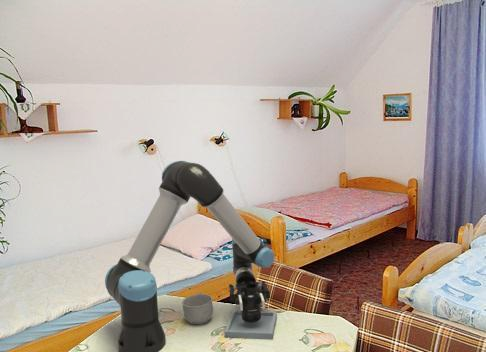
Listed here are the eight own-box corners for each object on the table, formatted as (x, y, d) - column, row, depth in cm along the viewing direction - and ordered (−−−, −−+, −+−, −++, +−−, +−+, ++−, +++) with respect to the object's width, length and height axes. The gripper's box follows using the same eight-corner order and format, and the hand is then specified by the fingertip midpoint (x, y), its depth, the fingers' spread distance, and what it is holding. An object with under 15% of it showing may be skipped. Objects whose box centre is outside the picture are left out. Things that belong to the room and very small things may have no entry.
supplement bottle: (252, 325, 147) (250, 291, 146) (237, 319, 152) (235, 286, 150) (265, 317, 152) (263, 284, 150) (250, 312, 157) (249, 280, 155)
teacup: (208, 328, 153) (207, 306, 152) (179, 326, 155) (177, 305, 154) (218, 310, 166) (217, 290, 165) (191, 309, 168) (190, 289, 167)
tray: (224, 337, 146) (224, 331, 146) (233, 315, 161) (233, 310, 161) (272, 339, 143) (272, 333, 143) (276, 316, 159) (276, 311, 158)
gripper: (271, 287, 170) (282, 313, 147) (220, 291, 168) (223, 319, 146) (270, 268, 169) (281, 292, 146) (219, 272, 167) (222, 297, 145)
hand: (252, 305), depth 146 cm, fingers closed on supplement bottle, 7 cm apart
